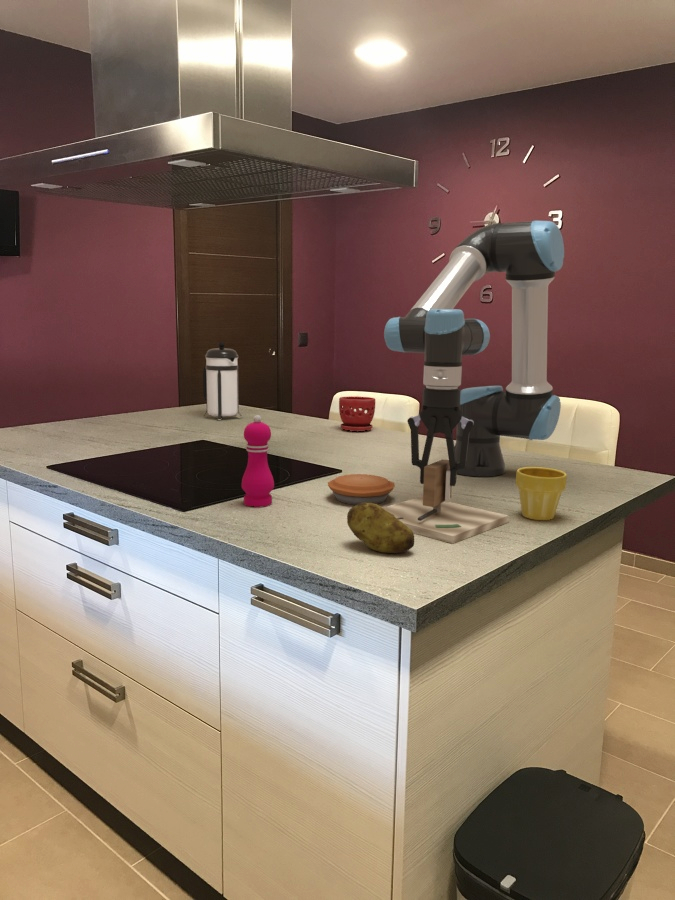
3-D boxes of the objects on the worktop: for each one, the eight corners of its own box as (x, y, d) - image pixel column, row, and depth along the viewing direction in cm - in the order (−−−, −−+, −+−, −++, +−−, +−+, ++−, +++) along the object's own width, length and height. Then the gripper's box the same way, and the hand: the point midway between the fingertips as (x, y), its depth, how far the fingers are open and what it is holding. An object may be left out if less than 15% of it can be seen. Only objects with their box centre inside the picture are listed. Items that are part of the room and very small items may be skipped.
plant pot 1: (379, 432, 258) (380, 399, 256) (343, 433, 255) (343, 399, 253) (369, 426, 271) (369, 394, 268) (335, 427, 268) (335, 395, 265)
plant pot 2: (571, 516, 156) (575, 471, 154) (550, 526, 148) (553, 479, 146) (527, 506, 162) (530, 464, 161) (504, 516, 155) (507, 471, 153)
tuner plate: (423, 502, 165) (423, 495, 165) (508, 522, 150) (508, 514, 150) (365, 519, 151) (365, 511, 151) (452, 543, 136) (452, 535, 136)
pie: (331, 489, 176) (331, 469, 175) (395, 492, 174) (395, 472, 173) (323, 506, 161) (323, 484, 160) (393, 509, 159) (393, 487, 158)
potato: (385, 562, 126) (386, 518, 124) (339, 543, 135) (340, 502, 134) (419, 553, 131) (421, 510, 129) (373, 535, 140) (374, 495, 139)
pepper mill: (258, 497, 167) (257, 411, 163) (280, 503, 163) (280, 415, 159) (235, 503, 162) (233, 415, 158) (257, 509, 157) (257, 418, 153)
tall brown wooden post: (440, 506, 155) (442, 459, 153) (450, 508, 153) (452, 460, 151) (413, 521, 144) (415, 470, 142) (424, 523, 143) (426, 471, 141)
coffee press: (246, 415, 294) (245, 341, 289) (236, 421, 279) (235, 342, 273) (204, 414, 296) (202, 340, 290) (193, 420, 280) (191, 342, 275)
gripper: (398, 387, 144) (394, 501, 148) (482, 390, 140) (476, 507, 144) (403, 383, 151) (400, 492, 155) (484, 386, 147) (479, 498, 151)
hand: (437, 499), depth 150 cm, fingers closed on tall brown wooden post, 3 cm apart
